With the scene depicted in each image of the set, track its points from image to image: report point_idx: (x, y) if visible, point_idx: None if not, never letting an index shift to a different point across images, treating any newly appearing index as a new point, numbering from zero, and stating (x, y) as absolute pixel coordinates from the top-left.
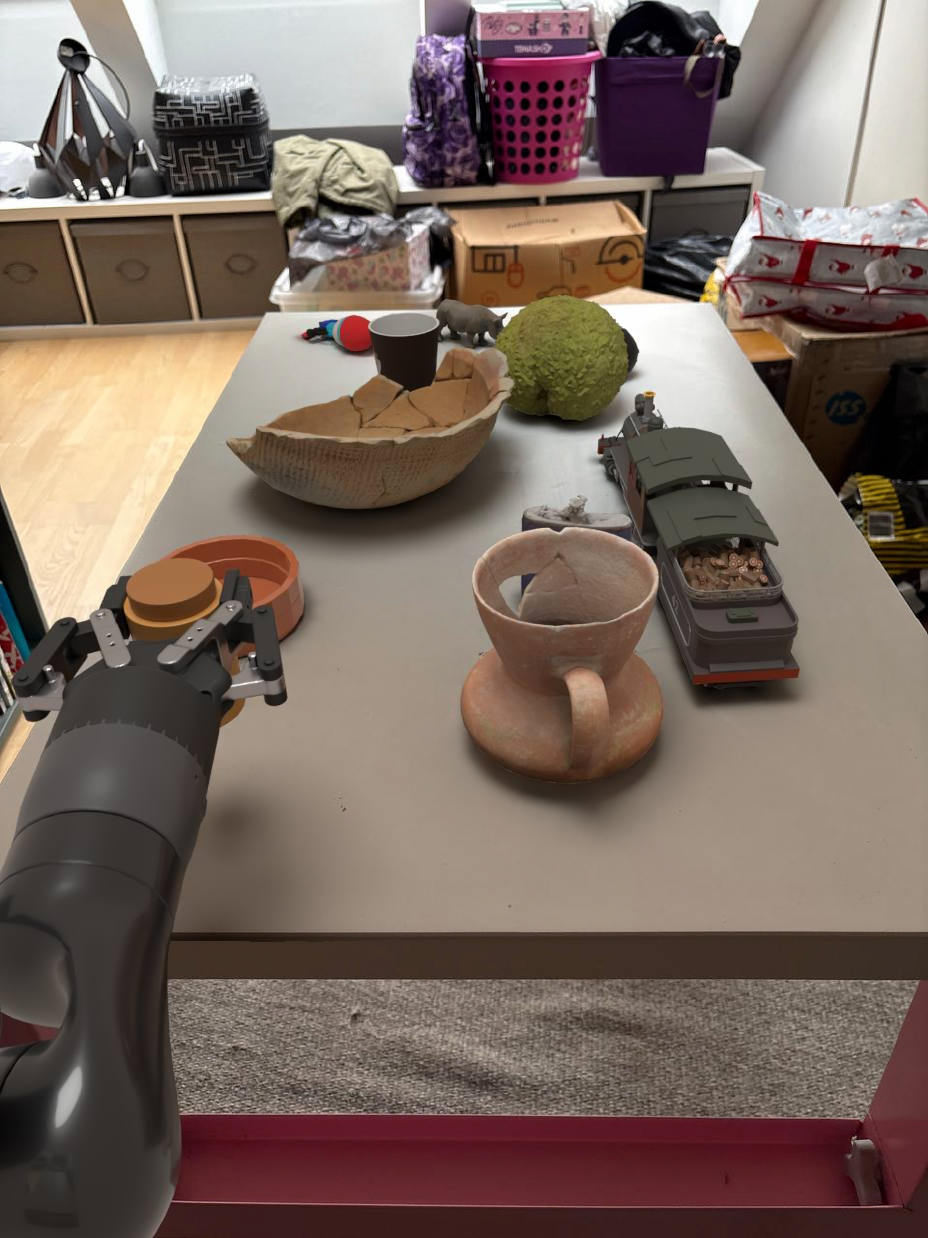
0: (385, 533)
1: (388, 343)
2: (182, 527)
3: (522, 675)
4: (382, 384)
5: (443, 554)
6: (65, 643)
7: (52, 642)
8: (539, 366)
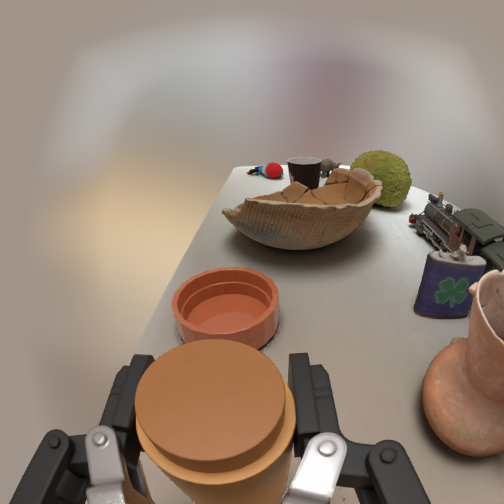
0: (316, 265)
1: (298, 167)
2: (195, 259)
3: (501, 395)
4: (297, 186)
5: (355, 278)
6: (55, 482)
7: (37, 480)
8: (376, 179)
